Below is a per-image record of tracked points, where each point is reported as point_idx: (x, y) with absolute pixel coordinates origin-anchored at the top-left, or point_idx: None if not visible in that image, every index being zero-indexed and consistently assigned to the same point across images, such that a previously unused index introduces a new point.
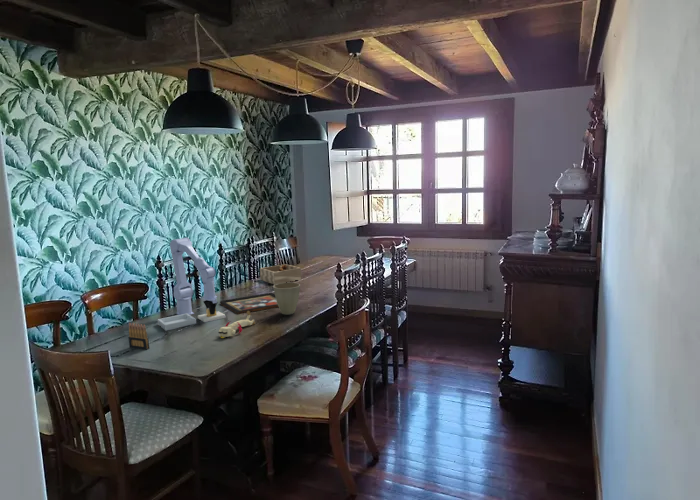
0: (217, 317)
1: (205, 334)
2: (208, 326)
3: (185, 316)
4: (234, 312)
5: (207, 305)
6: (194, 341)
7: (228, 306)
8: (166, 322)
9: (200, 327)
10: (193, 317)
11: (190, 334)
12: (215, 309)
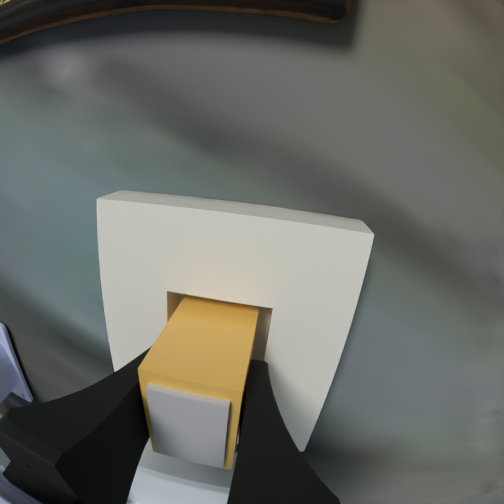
0: (341, 338)
1: (487, 458)
2: (413, 431)
3: None
4: (226, 7)
5: (131, 467)
6: (487, 486)
7: (18, 22)
8: (131, 493)
9: (375, 462)
10: (218, 487)
11: (415, 497)
12: (245, 380)
